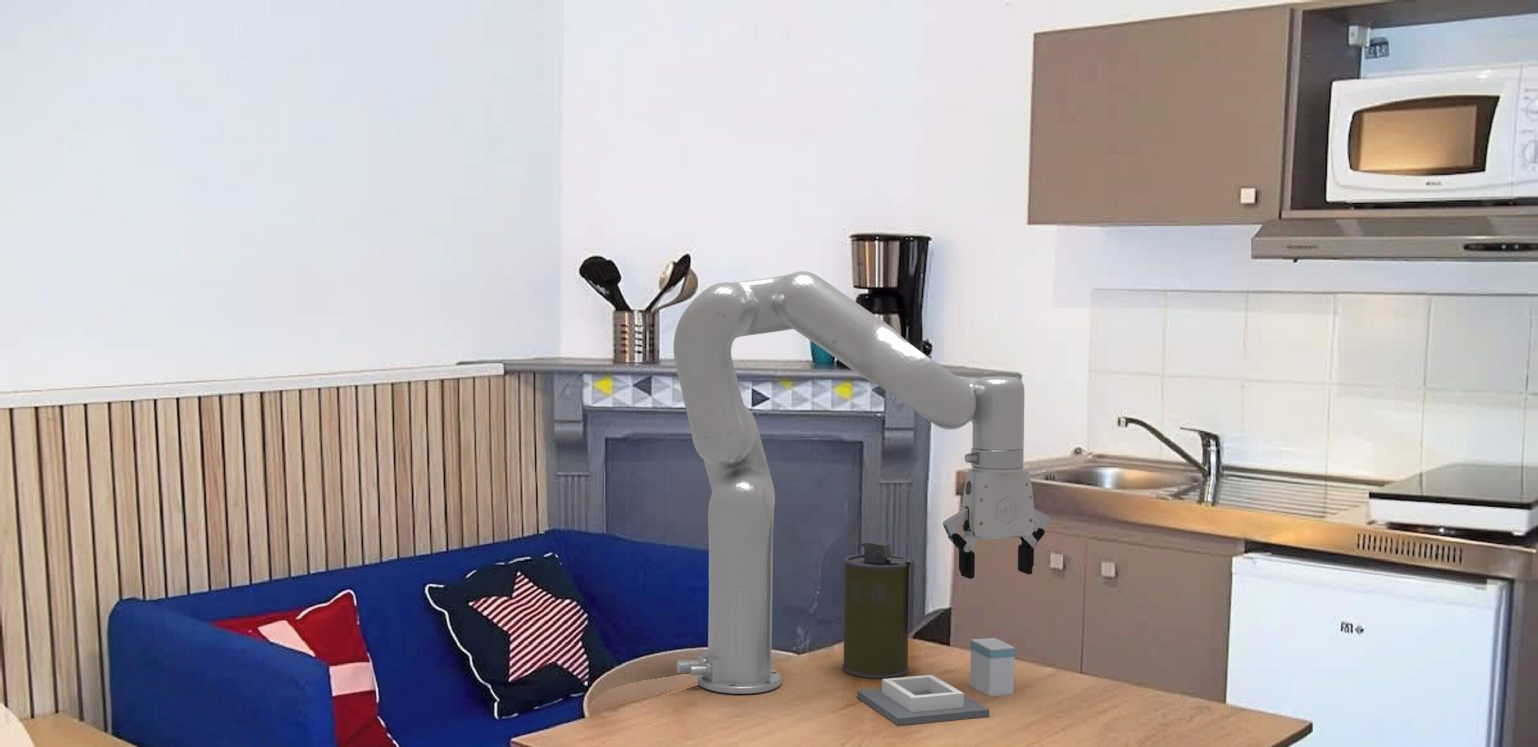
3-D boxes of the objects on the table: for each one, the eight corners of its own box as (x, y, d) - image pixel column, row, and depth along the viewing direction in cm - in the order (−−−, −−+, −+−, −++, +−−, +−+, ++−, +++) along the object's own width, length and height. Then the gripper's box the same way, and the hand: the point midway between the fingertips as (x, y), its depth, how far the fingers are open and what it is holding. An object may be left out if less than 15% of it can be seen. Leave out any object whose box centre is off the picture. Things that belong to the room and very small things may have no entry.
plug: (989, 696, 208) (990, 649, 208) (969, 685, 214) (970, 639, 214) (1014, 693, 210) (1015, 647, 209) (993, 683, 215) (994, 637, 215)
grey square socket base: (898, 725, 193) (898, 703, 193) (857, 697, 207) (857, 676, 206) (989, 716, 198) (989, 695, 198) (943, 689, 211) (943, 669, 211)
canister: (832, 673, 219) (834, 545, 218) (854, 657, 229) (857, 534, 228) (900, 682, 215) (902, 551, 214) (919, 665, 225) (922, 540, 223)
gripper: (957, 465, 203) (956, 583, 204) (1062, 460, 209) (1060, 575, 210) (933, 459, 210) (932, 573, 211) (1035, 455, 216) (1034, 566, 217)
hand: (996, 574), depth 211 cm, fingers open, 9 cm apart
